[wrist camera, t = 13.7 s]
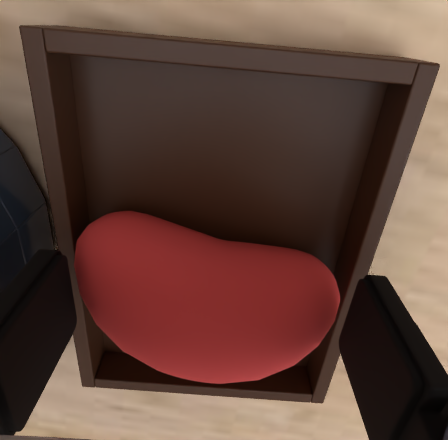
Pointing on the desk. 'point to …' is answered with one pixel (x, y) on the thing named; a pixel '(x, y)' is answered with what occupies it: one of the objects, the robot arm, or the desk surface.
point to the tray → (222, 162)
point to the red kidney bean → (202, 298)
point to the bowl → (19, 213)
